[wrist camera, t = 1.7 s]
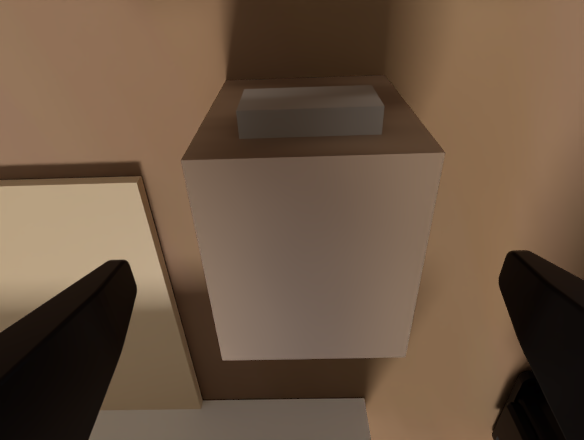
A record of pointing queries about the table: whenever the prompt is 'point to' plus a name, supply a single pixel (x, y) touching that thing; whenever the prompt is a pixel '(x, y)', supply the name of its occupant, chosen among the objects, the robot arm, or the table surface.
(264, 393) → the table surface
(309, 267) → the cabinet block
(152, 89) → the table surface
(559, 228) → the table surface
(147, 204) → the white slotted box
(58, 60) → the table surface
